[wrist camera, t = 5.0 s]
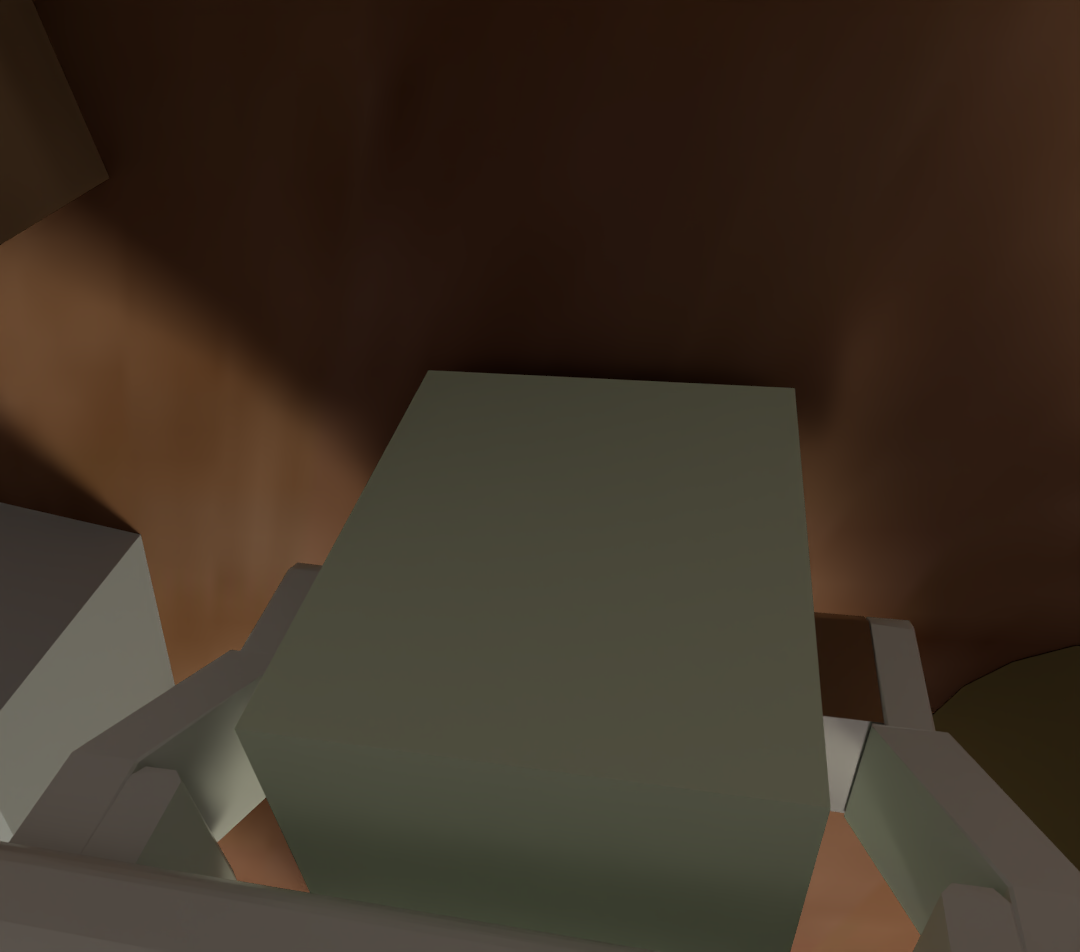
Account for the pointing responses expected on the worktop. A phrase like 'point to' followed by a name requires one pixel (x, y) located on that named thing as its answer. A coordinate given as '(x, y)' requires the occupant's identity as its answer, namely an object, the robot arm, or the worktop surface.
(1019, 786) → the cork
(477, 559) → the sage block
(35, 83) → the walnut block
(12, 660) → the grey block
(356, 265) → the worktop surface
